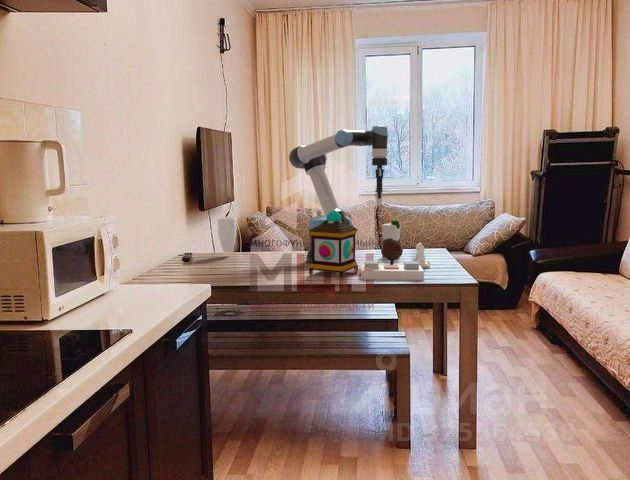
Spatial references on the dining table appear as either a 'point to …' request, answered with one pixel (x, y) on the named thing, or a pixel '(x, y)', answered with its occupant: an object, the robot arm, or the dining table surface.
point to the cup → (227, 232)
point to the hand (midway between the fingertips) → (379, 204)
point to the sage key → (372, 264)
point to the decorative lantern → (333, 245)
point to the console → (392, 273)
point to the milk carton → (391, 231)
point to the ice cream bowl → (391, 250)
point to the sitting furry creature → (421, 256)
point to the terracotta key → (391, 267)
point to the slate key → (411, 265)
